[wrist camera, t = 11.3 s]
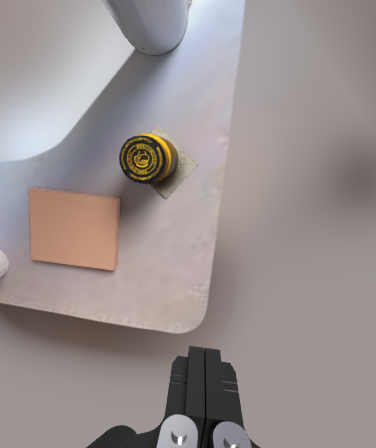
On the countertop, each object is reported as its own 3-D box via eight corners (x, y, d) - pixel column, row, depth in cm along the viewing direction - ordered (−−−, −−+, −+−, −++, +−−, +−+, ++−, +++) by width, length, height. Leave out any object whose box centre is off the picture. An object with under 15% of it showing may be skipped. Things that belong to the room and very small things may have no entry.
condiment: (157, 124, 40) (138, 112, 28) (198, 164, 41) (196, 169, 29) (126, 160, 41) (96, 164, 30) (166, 198, 42) (152, 215, 31)
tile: (117, 199, 41) (28, 188, 41) (113, 270, 44) (31, 259, 44) (121, 197, 43) (37, 186, 43) (118, 264, 46) (39, 254, 47)
